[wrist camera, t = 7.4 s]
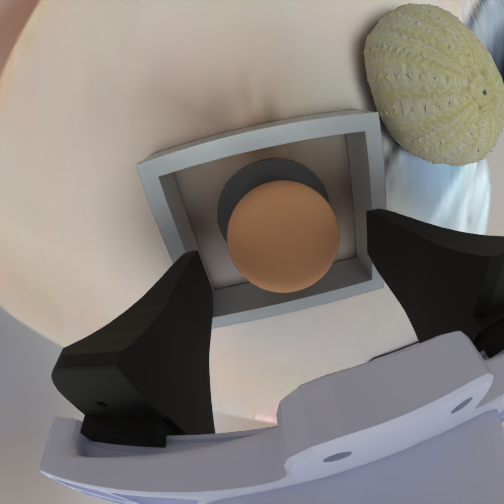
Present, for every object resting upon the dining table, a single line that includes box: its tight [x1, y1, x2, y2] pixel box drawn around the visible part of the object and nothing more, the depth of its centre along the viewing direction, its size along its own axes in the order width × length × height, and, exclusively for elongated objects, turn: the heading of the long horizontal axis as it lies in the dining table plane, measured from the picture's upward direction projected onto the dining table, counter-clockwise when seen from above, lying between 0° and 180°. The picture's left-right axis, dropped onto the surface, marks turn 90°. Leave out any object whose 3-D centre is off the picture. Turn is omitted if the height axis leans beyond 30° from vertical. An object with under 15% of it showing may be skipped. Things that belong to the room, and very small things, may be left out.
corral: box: [136, 109, 386, 328], centre depth 14 cm, size 10×11×2 cm
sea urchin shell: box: [363, 3, 504, 166], centre depth 10 cm, size 9×8×8 cm
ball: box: [227, 180, 339, 293], centre depth 13 cm, size 5×5×5 cm
